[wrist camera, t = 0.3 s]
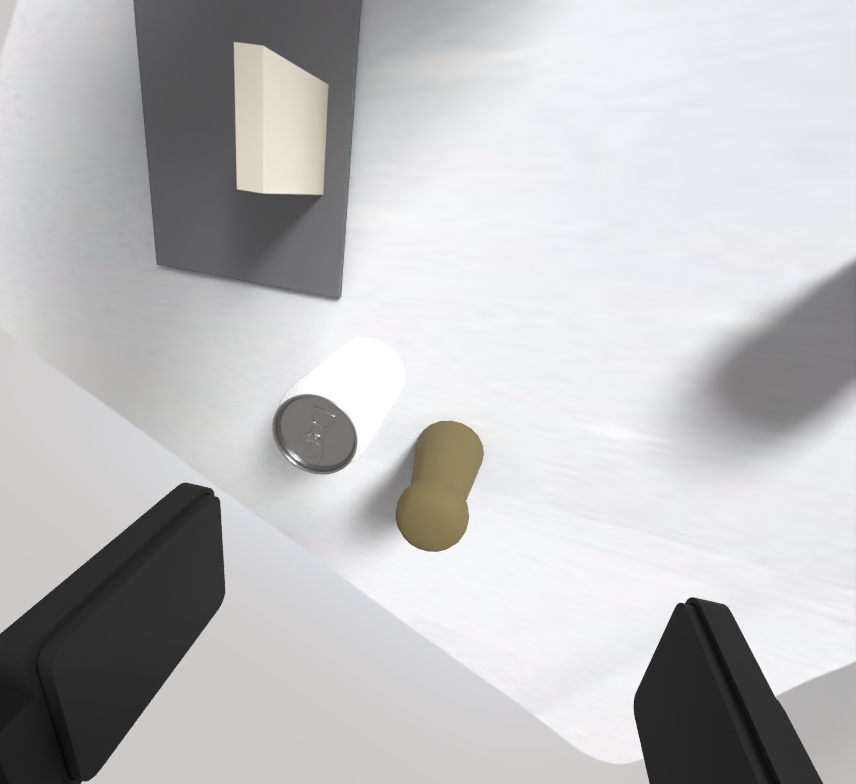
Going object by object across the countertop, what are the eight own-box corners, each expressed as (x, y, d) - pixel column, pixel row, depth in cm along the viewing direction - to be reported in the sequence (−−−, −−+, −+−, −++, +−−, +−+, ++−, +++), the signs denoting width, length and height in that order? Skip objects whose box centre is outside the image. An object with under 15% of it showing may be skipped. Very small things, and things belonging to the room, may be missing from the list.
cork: (403, 439, 42) (367, 514, 32) (459, 408, 40) (439, 478, 30) (441, 490, 44) (417, 577, 34) (496, 462, 41) (489, 546, 31)
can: (324, 385, 42) (254, 452, 31) (348, 322, 39) (282, 370, 28) (389, 418, 42) (343, 496, 31) (418, 356, 39) (379, 418, 28)
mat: (133, -73, 31) (126, -78, 31) (364, -50, 29) (361, -54, 29) (161, 263, 40) (156, 264, 39) (341, 296, 38) (338, 298, 38)
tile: (304, 81, 32) (231, 41, 24) (328, 84, 32) (263, 45, 24) (300, 191, 35) (234, 188, 27) (323, 194, 35) (263, 193, 27)
